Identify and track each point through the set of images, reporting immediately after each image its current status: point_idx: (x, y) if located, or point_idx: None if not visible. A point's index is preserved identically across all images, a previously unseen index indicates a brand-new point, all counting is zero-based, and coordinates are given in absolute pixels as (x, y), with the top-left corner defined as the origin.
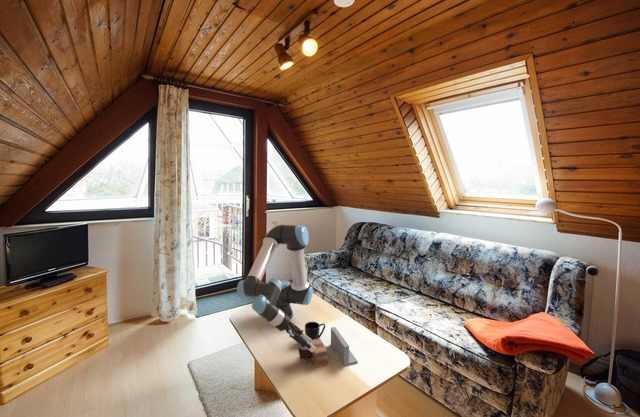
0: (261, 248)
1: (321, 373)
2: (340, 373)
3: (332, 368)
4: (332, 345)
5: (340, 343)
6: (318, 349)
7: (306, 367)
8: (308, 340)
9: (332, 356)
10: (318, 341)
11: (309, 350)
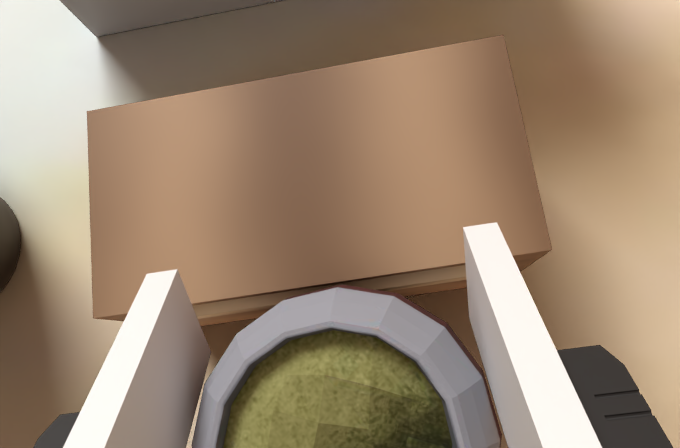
0: None
1: (638, 231)
2: (654, 12)
3: (552, 86)
4: (140, 12)
5: None
6: (421, 184)
7: None
8: (179, 350)
9: (324, 52)
10: (173, 150)
11: (481, 372)
